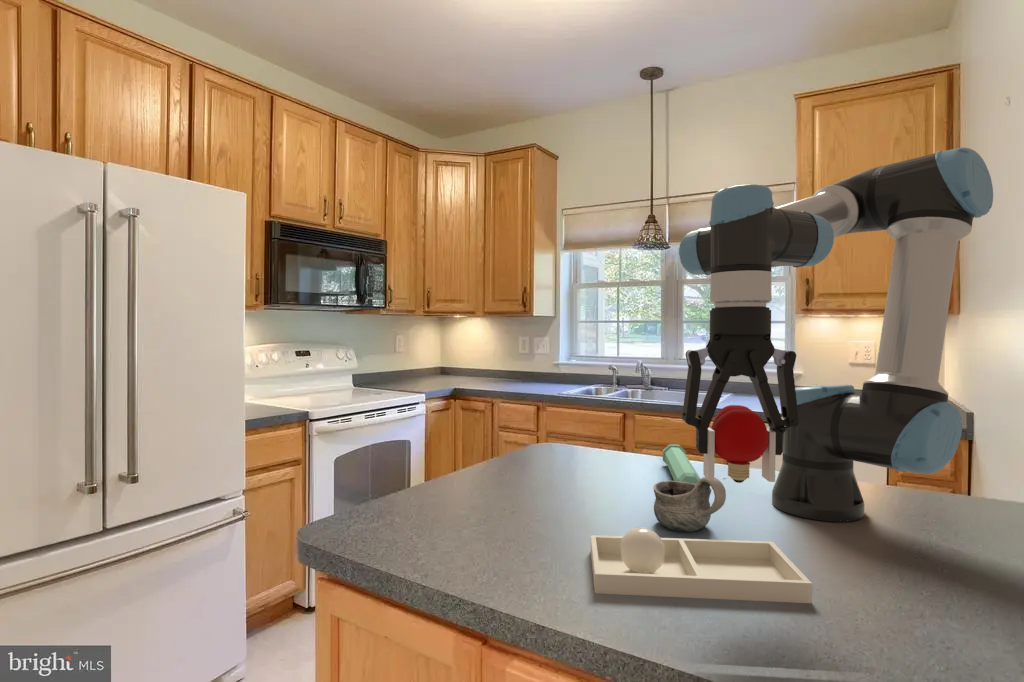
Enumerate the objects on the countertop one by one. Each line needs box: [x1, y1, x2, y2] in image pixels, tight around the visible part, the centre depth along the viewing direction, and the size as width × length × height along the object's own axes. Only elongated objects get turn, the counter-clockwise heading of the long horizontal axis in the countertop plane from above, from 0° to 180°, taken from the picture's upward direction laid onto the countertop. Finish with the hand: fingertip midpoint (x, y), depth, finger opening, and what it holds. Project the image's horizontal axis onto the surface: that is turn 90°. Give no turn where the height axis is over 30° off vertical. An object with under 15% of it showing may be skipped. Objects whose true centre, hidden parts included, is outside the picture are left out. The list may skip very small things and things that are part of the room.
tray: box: [590, 534, 813, 604], centre depth 74 cm, size 26×13×3 cm, turn 84°
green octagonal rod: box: [662, 444, 701, 484], centre depth 123 cm, size 6×6×25 cm
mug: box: [653, 476, 727, 533], centre depth 92 cm, size 10×12×10 cm
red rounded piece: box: [710, 404, 768, 484], centre depth 73 cm, size 9×7×10 cm
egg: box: [620, 526, 665, 574], centre depth 75 cm, size 6×6×6 cm
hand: (738, 478), depth 73 cm, fingers closed on red rounded piece, 7 cm apart
